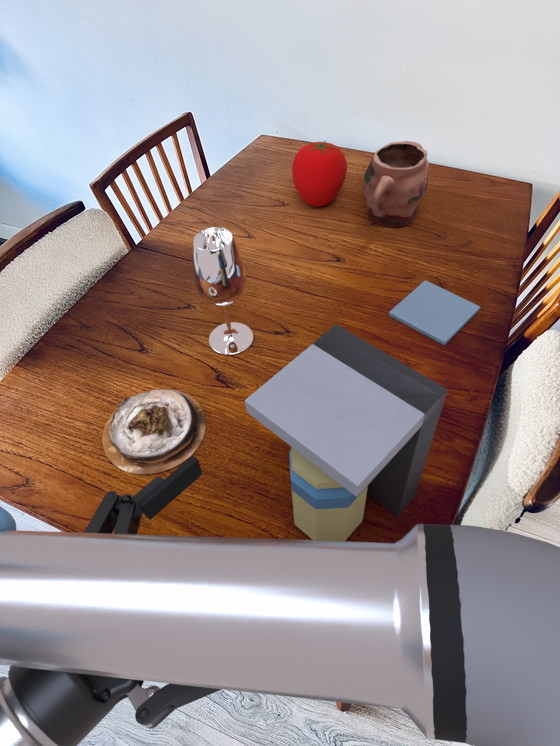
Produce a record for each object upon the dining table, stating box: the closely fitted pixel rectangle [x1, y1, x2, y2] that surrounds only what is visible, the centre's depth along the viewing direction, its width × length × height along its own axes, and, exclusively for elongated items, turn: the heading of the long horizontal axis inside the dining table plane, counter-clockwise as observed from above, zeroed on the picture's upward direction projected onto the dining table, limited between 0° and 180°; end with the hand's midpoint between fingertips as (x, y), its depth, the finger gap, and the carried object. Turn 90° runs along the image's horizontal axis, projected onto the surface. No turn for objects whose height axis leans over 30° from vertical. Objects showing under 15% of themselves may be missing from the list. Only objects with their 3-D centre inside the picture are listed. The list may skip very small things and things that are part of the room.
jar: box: [288, 446, 368, 541], centre depth 60 cm, size 9×9×15 cm
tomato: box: [291, 140, 348, 208], centre depth 108 cm, size 11×11×13 cm
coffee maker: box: [244, 324, 448, 518], centre depth 59 cm, size 14×14×22 cm
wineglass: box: [192, 226, 254, 356], centre depth 80 cm, size 8×8×20 cm
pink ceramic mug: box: [362, 140, 431, 228], centre depth 102 cm, size 20×12×14 cm, turn 155°
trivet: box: [388, 279, 481, 346], centre depth 88 cm, size 11×11×1 cm
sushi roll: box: [101, 388, 207, 475], centre depth 74 cm, size 15×15×4 cm
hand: (247, 508), depth 47 cm, fingers open, 13 cm apart
